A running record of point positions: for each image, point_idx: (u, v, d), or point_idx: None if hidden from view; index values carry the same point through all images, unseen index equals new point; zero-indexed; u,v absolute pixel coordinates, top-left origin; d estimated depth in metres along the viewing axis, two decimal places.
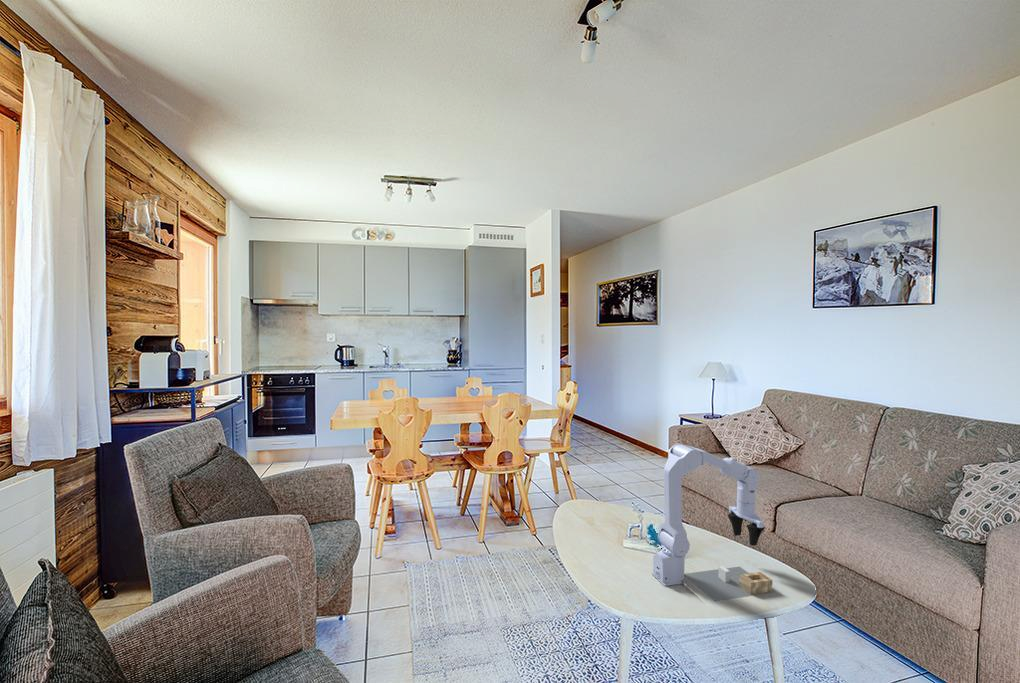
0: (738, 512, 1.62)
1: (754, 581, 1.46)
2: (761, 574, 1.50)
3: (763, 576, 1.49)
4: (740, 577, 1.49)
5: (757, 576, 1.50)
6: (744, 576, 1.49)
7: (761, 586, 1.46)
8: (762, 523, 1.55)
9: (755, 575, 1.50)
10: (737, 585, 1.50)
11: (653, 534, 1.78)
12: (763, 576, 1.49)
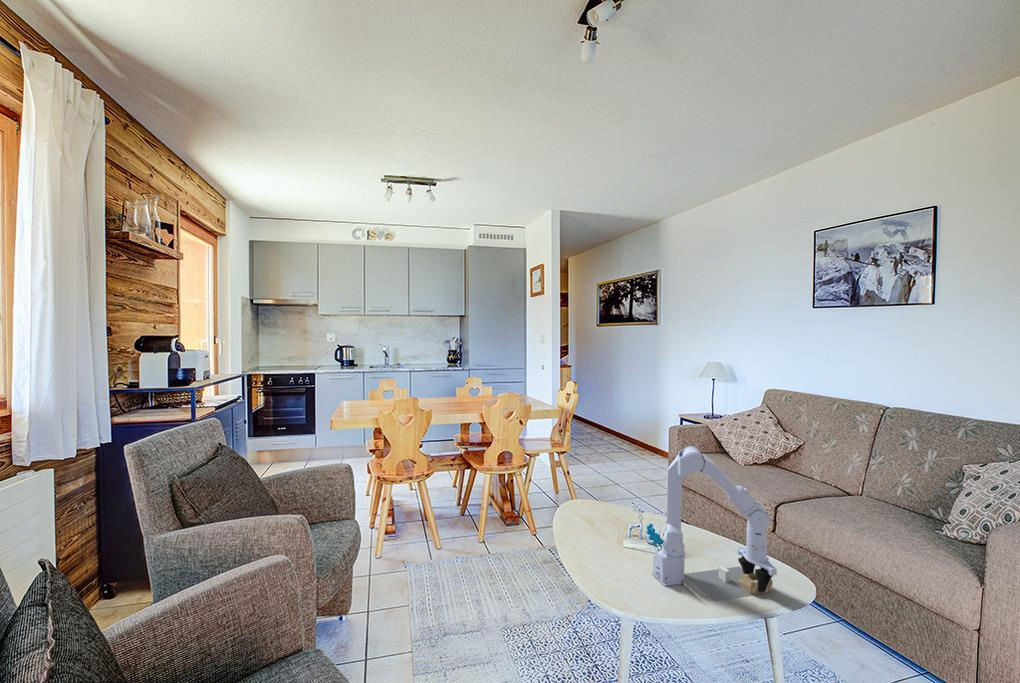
0: (748, 556, 1.48)
1: (754, 581, 1.46)
2: None
3: None
4: (740, 577, 1.49)
5: None
6: (744, 576, 1.49)
7: None
8: (774, 570, 1.41)
9: (755, 575, 1.50)
10: (737, 585, 1.50)
11: (652, 534, 1.78)
12: None
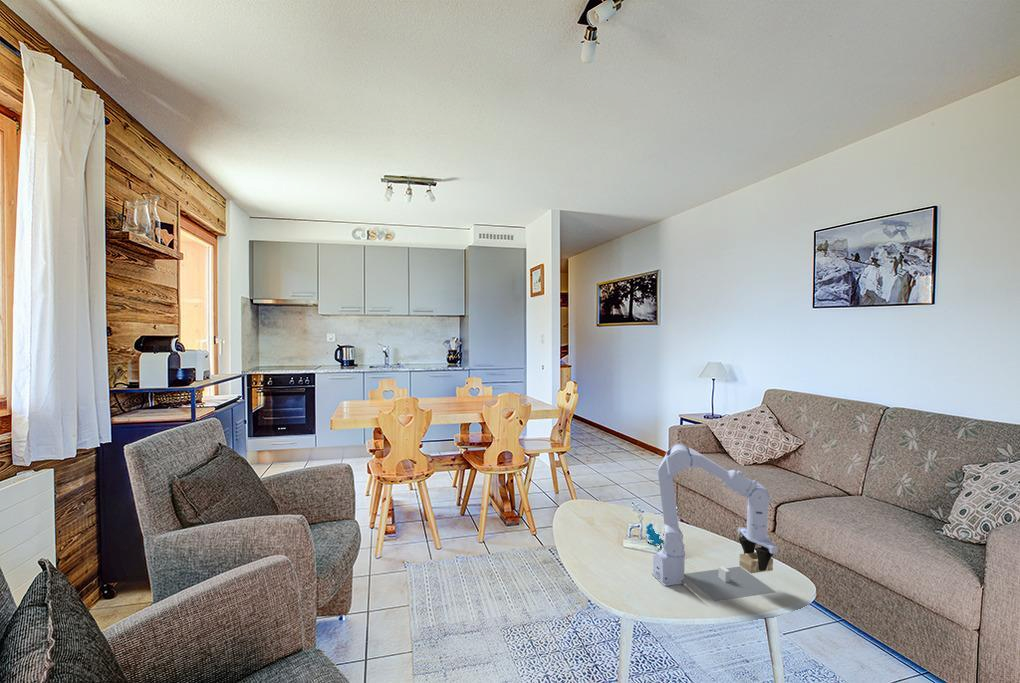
0: (748, 535, 1.48)
1: (755, 560, 1.46)
2: None
3: None
4: (741, 556, 1.49)
5: None
6: (745, 555, 1.49)
7: None
8: (775, 548, 1.41)
9: (756, 554, 1.50)
10: (737, 585, 1.50)
11: (652, 533, 1.78)
12: None
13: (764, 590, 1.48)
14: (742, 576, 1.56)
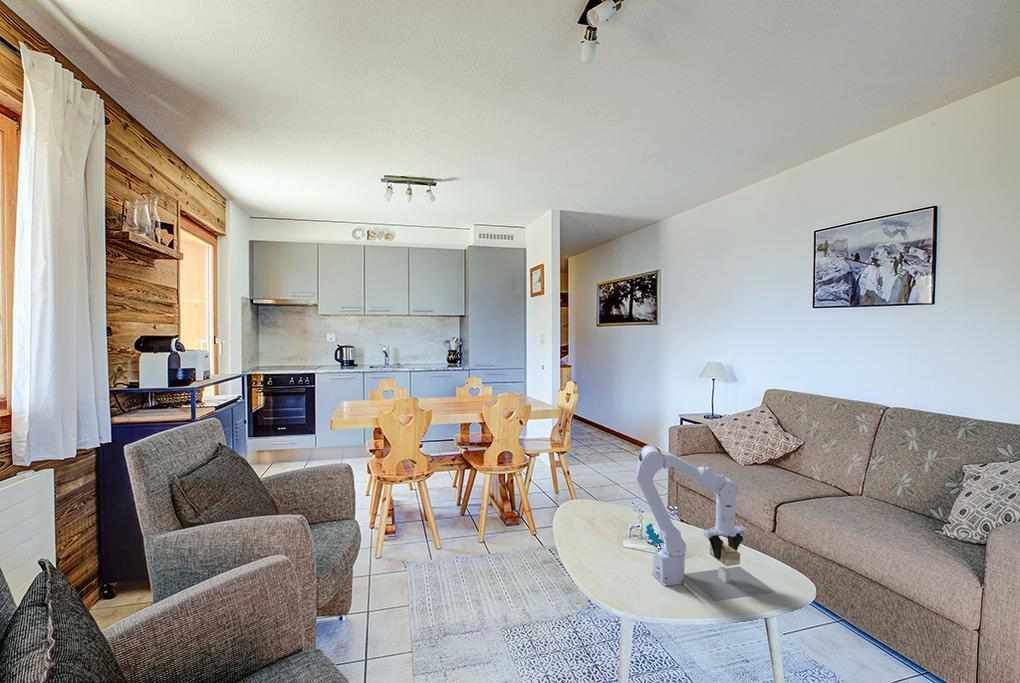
0: None
1: None
2: (734, 552, 1.51)
3: (730, 552, 1.51)
4: None
5: None
6: None
7: None
8: (706, 533, 1.51)
9: (730, 550, 1.53)
10: (737, 585, 1.50)
11: (652, 533, 1.79)
12: (731, 552, 1.51)
13: (764, 590, 1.48)
14: (742, 576, 1.56)
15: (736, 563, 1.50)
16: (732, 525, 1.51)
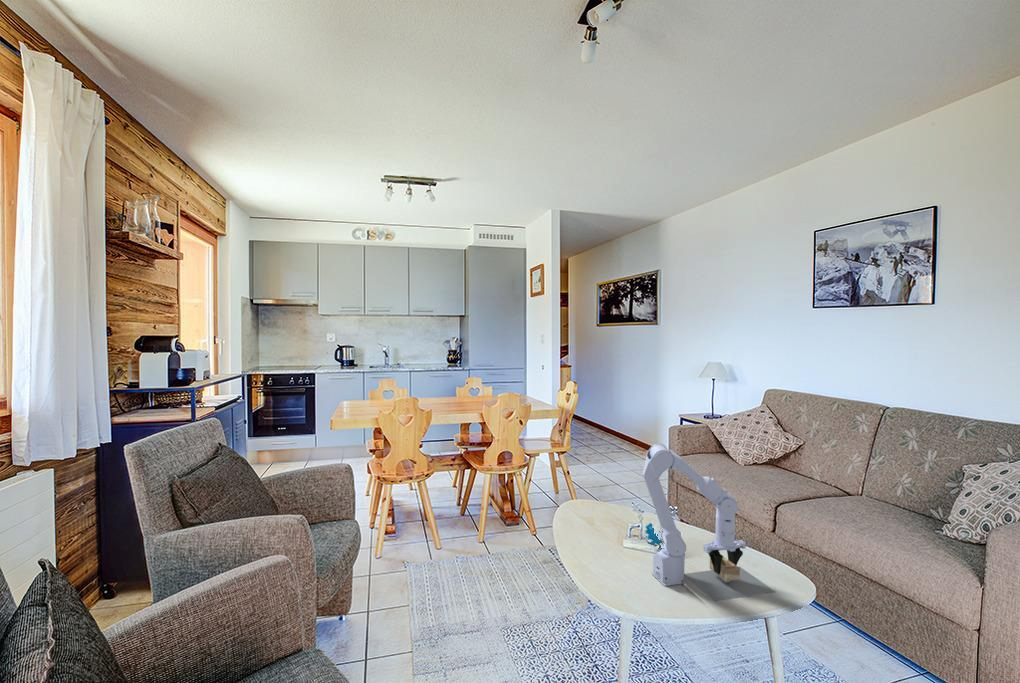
0: None
1: None
2: (733, 566, 1.51)
3: (729, 566, 1.51)
4: None
5: None
6: None
7: None
8: (705, 547, 1.52)
9: (730, 564, 1.53)
10: (737, 585, 1.50)
11: (651, 533, 1.79)
12: (731, 567, 1.51)
13: (764, 590, 1.48)
14: (742, 576, 1.56)
15: (736, 578, 1.50)
16: (732, 540, 1.51)
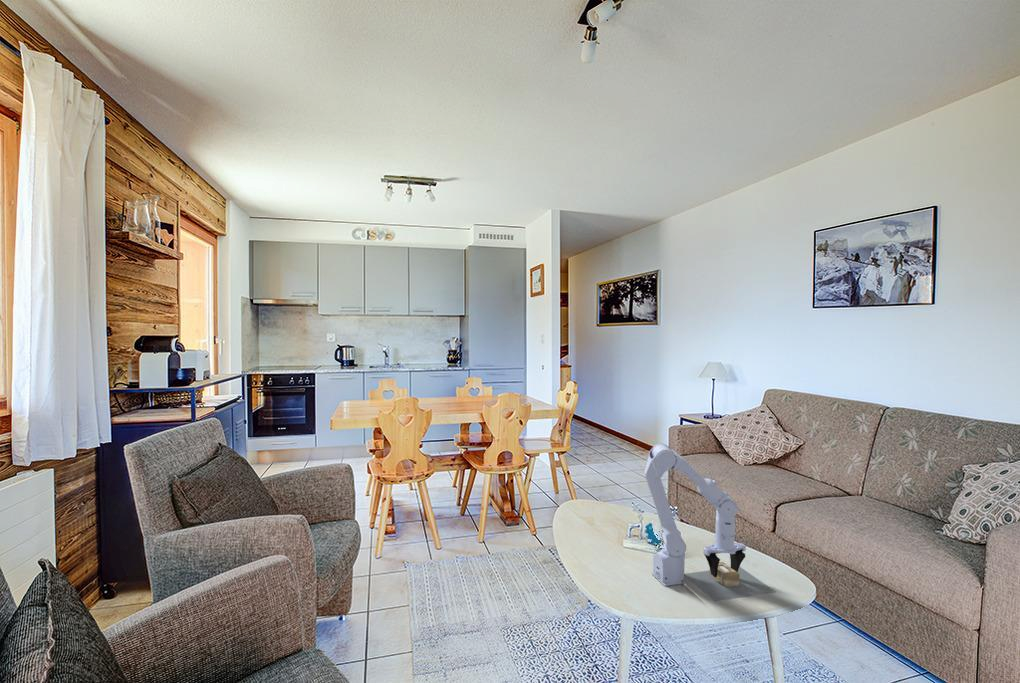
0: None
1: None
2: (733, 572, 1.51)
3: (729, 572, 1.51)
4: None
5: None
6: (721, 563, 1.57)
7: (717, 574, 1.53)
8: (705, 550, 1.52)
9: (730, 570, 1.53)
10: (737, 585, 1.50)
11: (651, 533, 1.79)
12: (730, 573, 1.51)
13: (764, 590, 1.48)
14: (742, 576, 1.56)
15: (735, 584, 1.50)
16: (732, 543, 1.51)
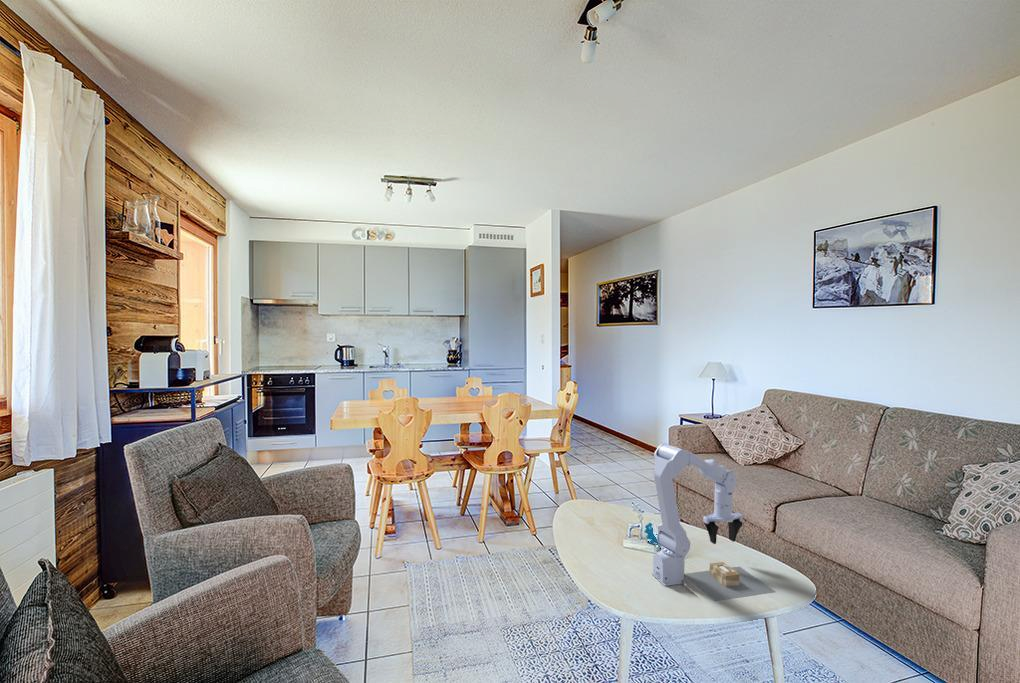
0: None
1: (714, 565, 1.55)
2: (733, 572, 1.51)
3: (729, 572, 1.51)
4: None
5: None
6: (721, 563, 1.57)
7: (717, 574, 1.53)
8: (705, 519, 1.63)
9: (730, 570, 1.53)
10: (737, 585, 1.50)
11: (651, 533, 1.79)
12: (730, 573, 1.51)
13: (764, 590, 1.48)
14: (742, 576, 1.56)
15: (735, 584, 1.50)
16: (729, 511, 1.62)
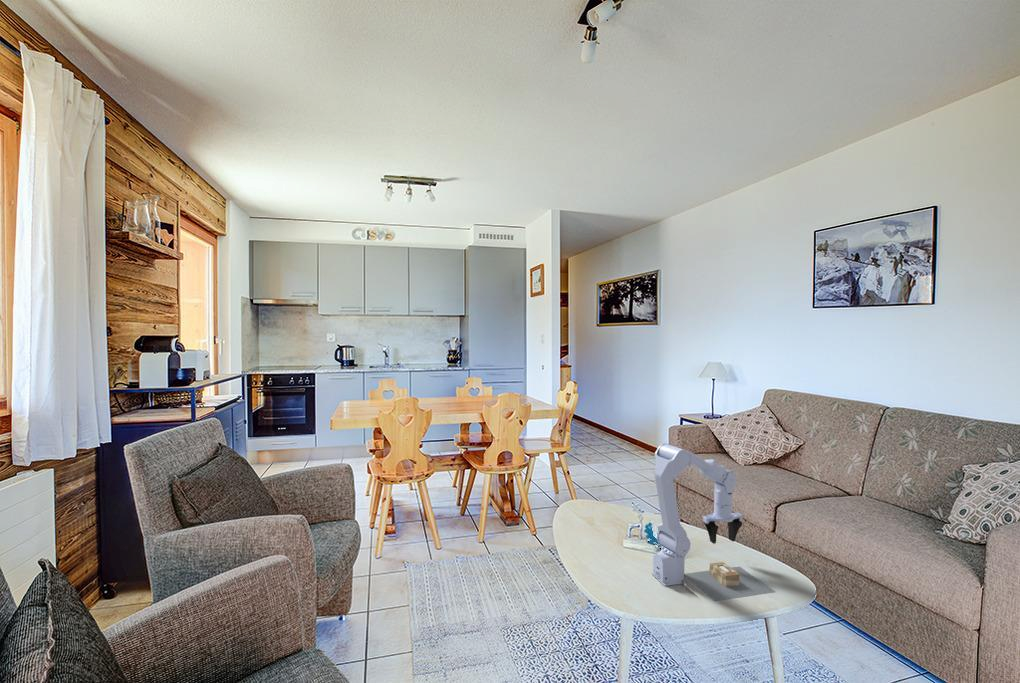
0: None
1: (714, 565, 1.55)
2: (733, 572, 1.51)
3: (729, 572, 1.51)
4: None
5: None
6: (721, 563, 1.57)
7: (717, 574, 1.53)
8: (705, 518, 1.63)
9: (730, 570, 1.53)
10: (737, 585, 1.50)
11: (650, 533, 1.79)
12: (730, 573, 1.51)
13: (764, 590, 1.48)
14: (742, 576, 1.56)
15: (735, 584, 1.50)
16: (729, 511, 1.62)
